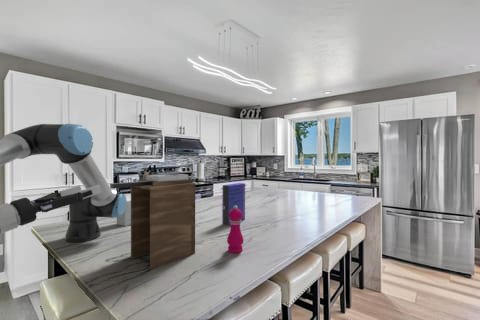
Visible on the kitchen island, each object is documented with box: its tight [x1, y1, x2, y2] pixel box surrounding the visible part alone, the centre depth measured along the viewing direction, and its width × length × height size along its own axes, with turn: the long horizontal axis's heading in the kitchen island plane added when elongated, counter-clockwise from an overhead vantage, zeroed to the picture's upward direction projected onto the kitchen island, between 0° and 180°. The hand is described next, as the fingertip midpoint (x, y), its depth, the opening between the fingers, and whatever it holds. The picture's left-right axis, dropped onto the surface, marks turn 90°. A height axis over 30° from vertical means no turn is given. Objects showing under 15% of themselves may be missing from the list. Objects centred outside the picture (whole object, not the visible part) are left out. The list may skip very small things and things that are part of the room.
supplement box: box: [116, 197, 131, 227], centre depth 150 cm, size 9×9×15 cm
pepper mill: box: [226, 205, 244, 254], centre depth 109 cm, size 7×7×20 cm
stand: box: [130, 178, 196, 270], centre depth 103 cm, size 17×20×32 cm
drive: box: [109, 171, 189, 189], centre depth 99 cm, size 10×30×4 cm, turn 138°
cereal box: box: [221, 182, 246, 226], centre depth 156 cm, size 17×5×24 cm, turn 144°
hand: (90, 188), depth 87 cm, fingers open, 13 cm apart
